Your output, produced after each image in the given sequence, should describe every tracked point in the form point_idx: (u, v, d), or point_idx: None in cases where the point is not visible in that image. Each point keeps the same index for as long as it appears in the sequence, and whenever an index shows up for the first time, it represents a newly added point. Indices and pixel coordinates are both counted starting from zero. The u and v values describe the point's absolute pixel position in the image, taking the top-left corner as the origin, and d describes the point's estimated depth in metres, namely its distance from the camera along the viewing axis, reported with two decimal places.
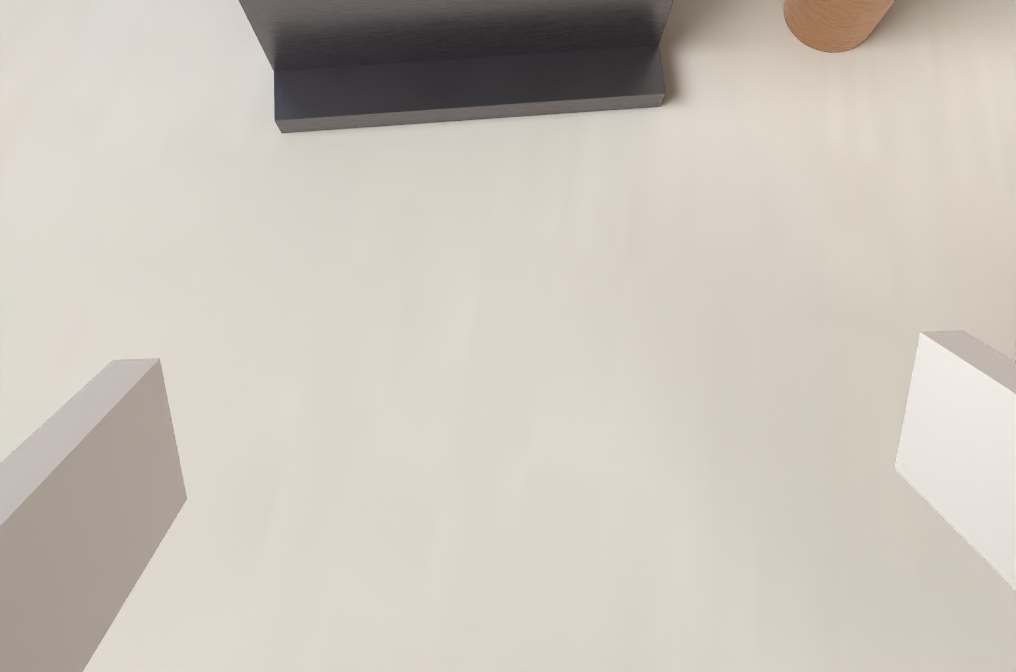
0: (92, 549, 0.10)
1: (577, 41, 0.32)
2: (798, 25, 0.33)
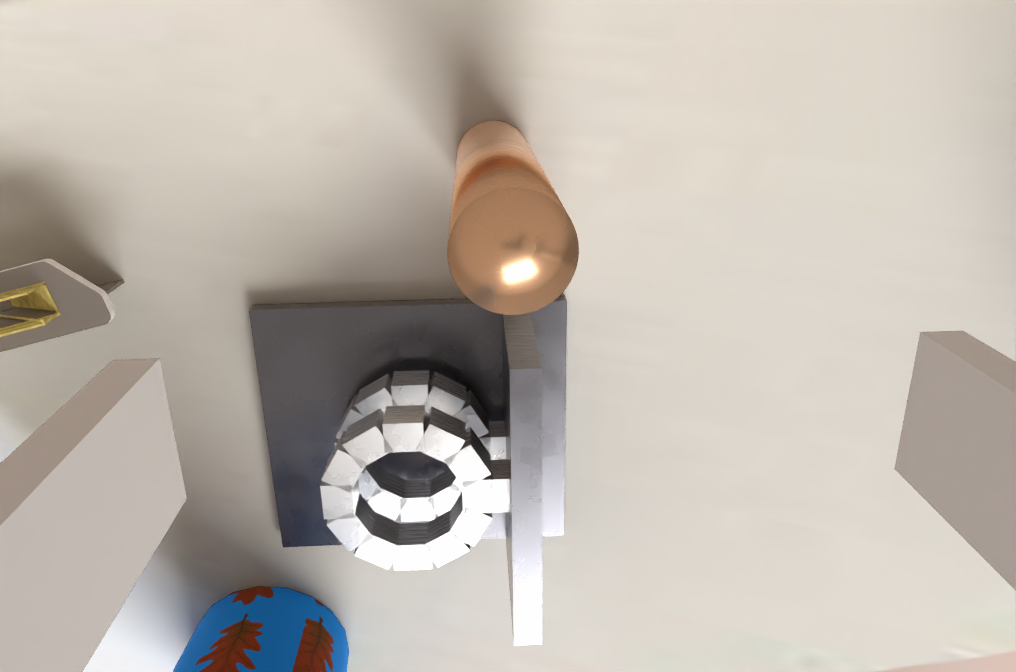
0: (92, 549, 0.10)
1: None
2: None
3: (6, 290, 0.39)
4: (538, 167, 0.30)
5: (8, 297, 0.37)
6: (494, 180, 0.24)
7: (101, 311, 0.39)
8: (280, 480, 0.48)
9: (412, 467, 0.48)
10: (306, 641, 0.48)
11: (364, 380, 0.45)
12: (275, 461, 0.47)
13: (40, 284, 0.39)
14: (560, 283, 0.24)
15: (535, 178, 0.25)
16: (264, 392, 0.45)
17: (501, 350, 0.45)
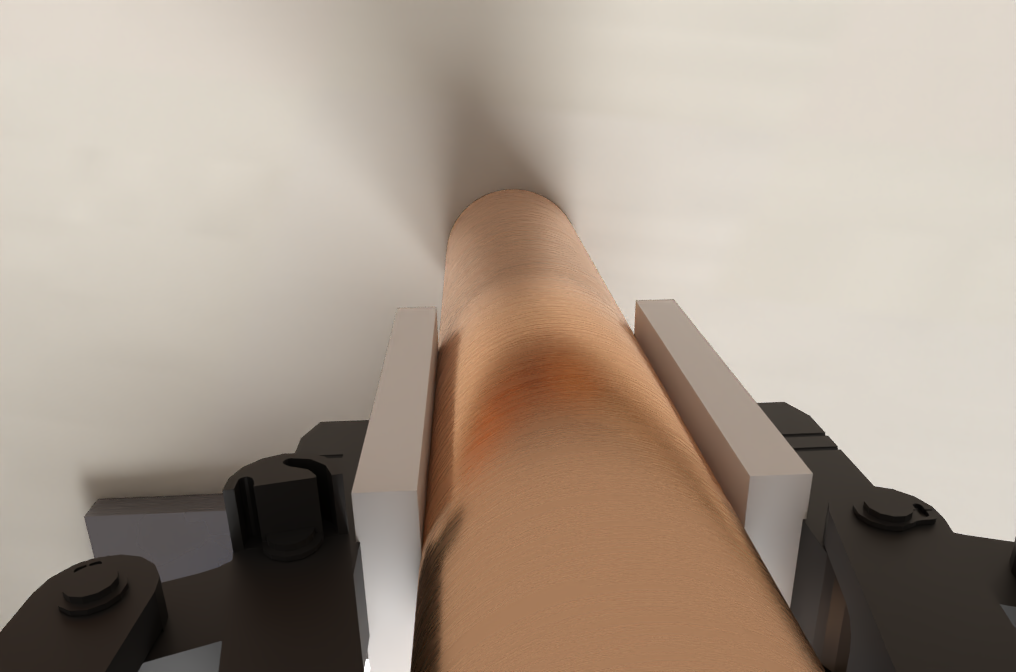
0: None
1: None
2: None
3: None
4: (658, 390, 0.11)
5: None
6: (587, 664, 0.06)
7: None
8: None
9: None
10: None
11: None
12: None
13: None
14: None
15: (723, 570, 0.07)
16: None
17: None
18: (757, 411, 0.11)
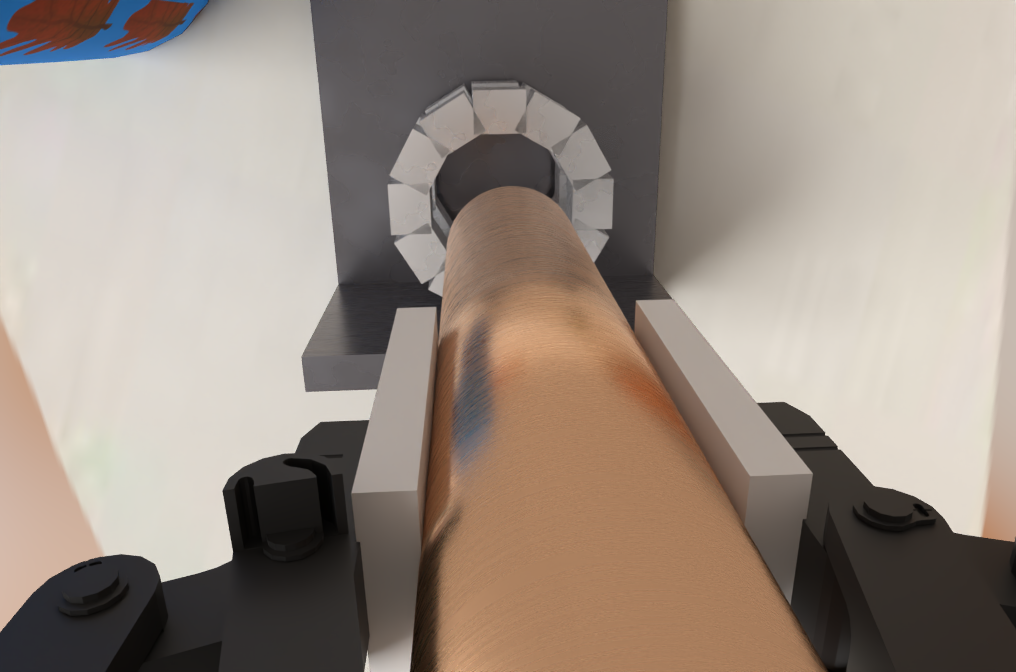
0: None
1: None
2: None
3: None
4: (653, 379, 0.11)
5: None
6: (581, 628, 0.06)
7: None
8: None
9: (441, 167, 0.37)
10: (174, 10, 0.31)
11: None
12: None
13: None
14: None
15: (712, 544, 0.07)
16: None
17: None
18: (757, 411, 0.11)
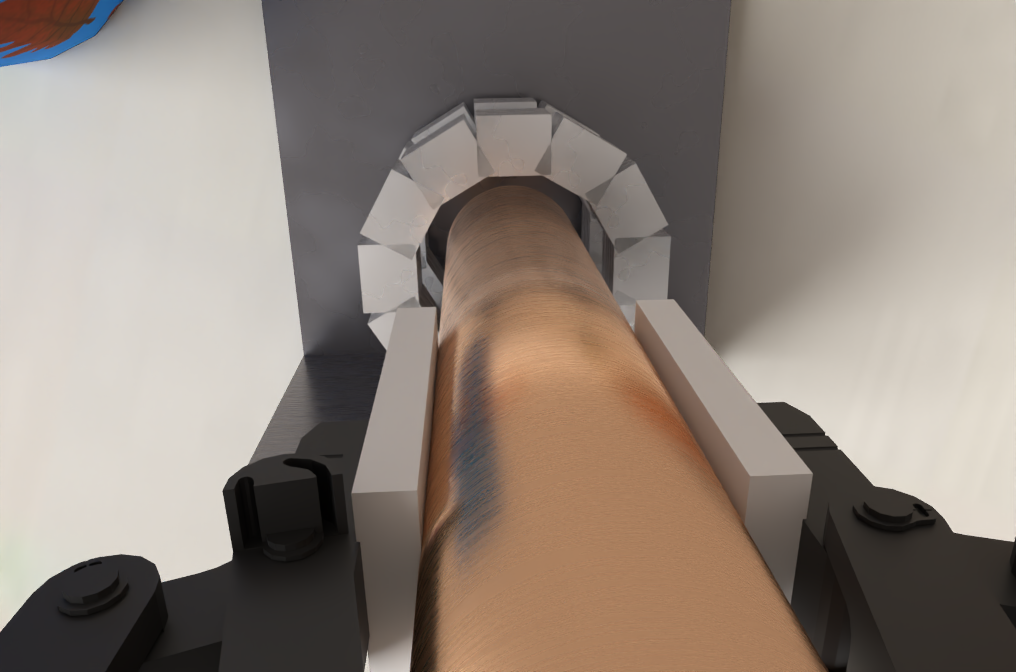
0: None
1: None
2: None
3: None
4: (652, 376, 0.11)
5: None
6: (579, 622, 0.06)
7: None
8: None
9: None
10: (69, 4, 0.23)
11: None
12: None
13: None
14: None
15: (710, 539, 0.07)
16: None
17: None
18: (757, 411, 0.11)
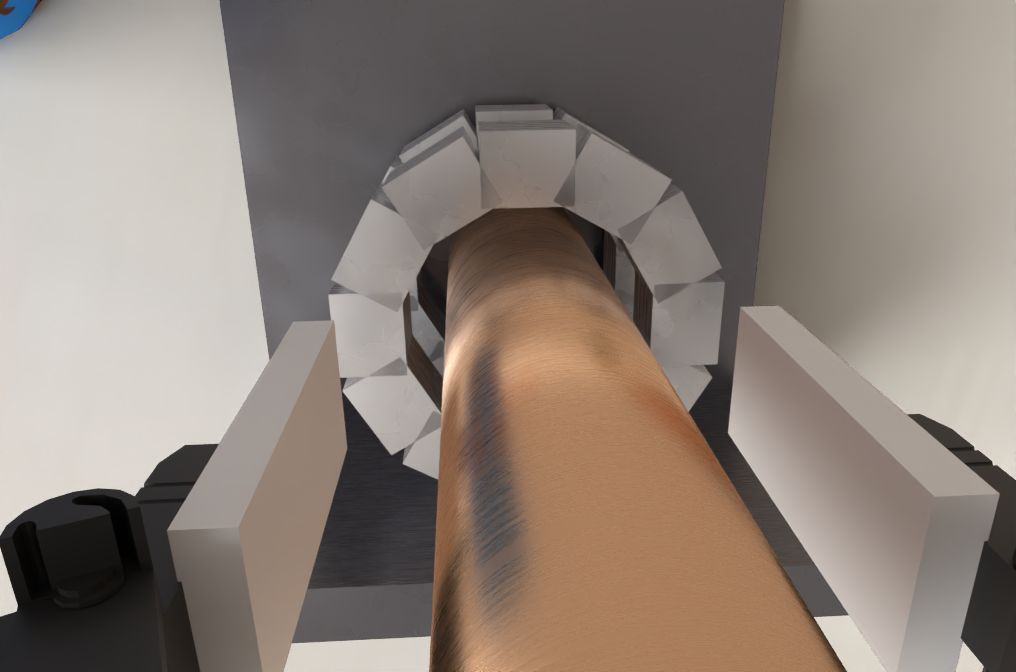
0: (311, 478, 0.12)
1: None
2: None
3: None
4: (653, 364, 0.12)
5: None
6: (593, 578, 0.07)
7: None
8: None
9: None
10: None
11: None
12: None
13: None
14: None
15: (711, 509, 0.08)
16: None
17: None
18: (913, 425, 0.10)
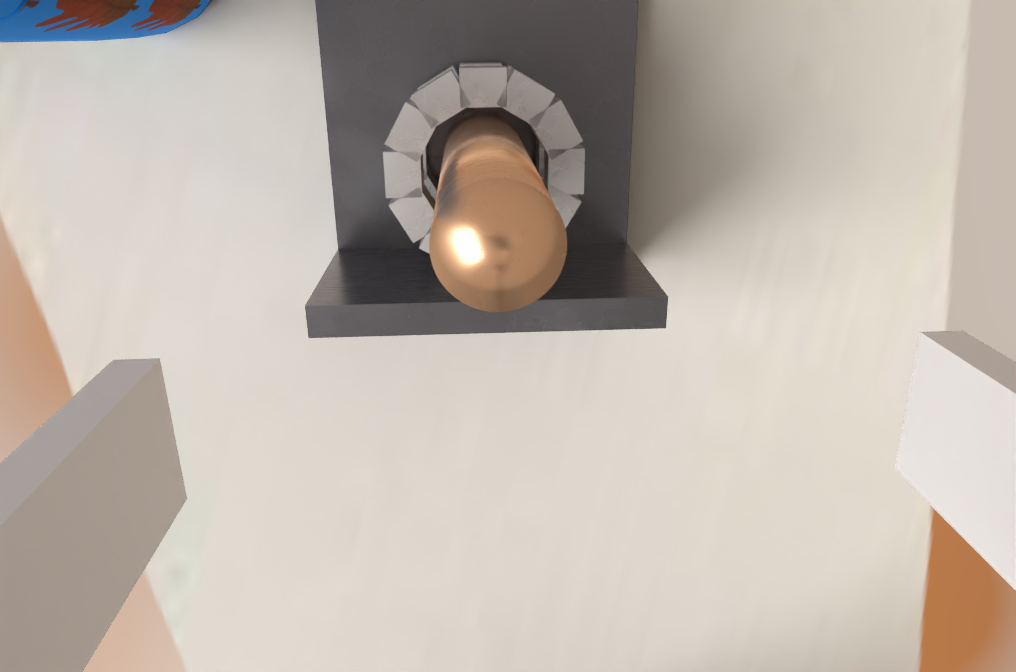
0: (92, 549, 0.10)
1: None
2: None
3: None
4: (527, 158, 0.28)
5: None
6: (479, 170, 0.23)
7: None
8: None
9: (432, 141, 0.41)
10: None
11: None
12: None
13: None
14: (548, 279, 0.23)
15: (522, 169, 0.24)
16: None
17: (575, 243, 0.43)
18: None
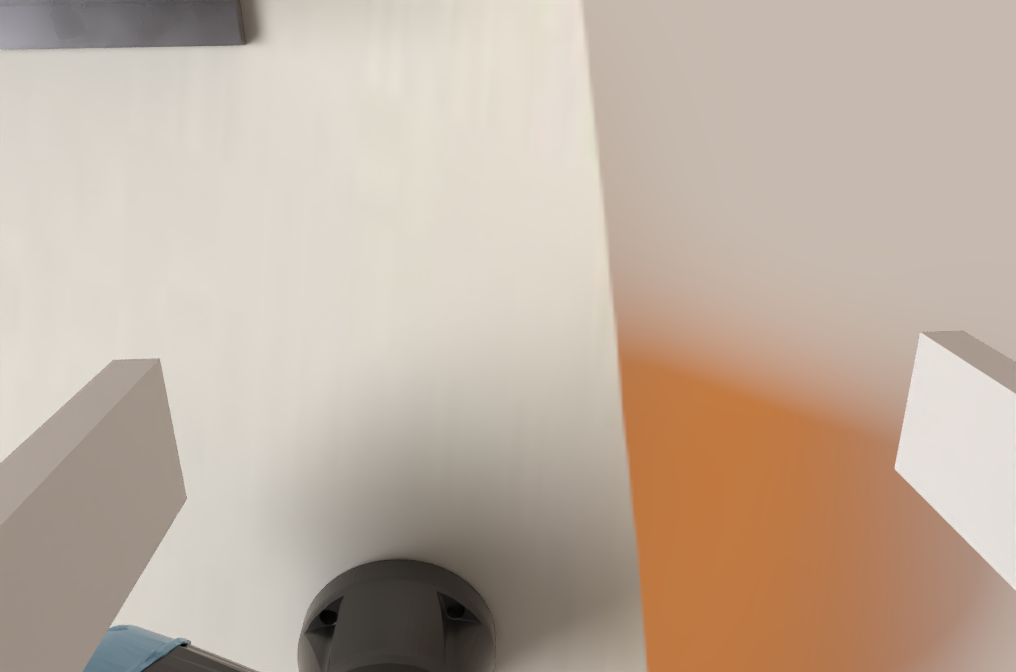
0: (92, 549, 0.10)
1: (168, 2, 0.42)
2: None
3: None
4: None
5: None
6: None
7: None
8: None
9: None
10: None
11: None
12: None
13: None
14: None
15: None
16: None
17: None
18: None
